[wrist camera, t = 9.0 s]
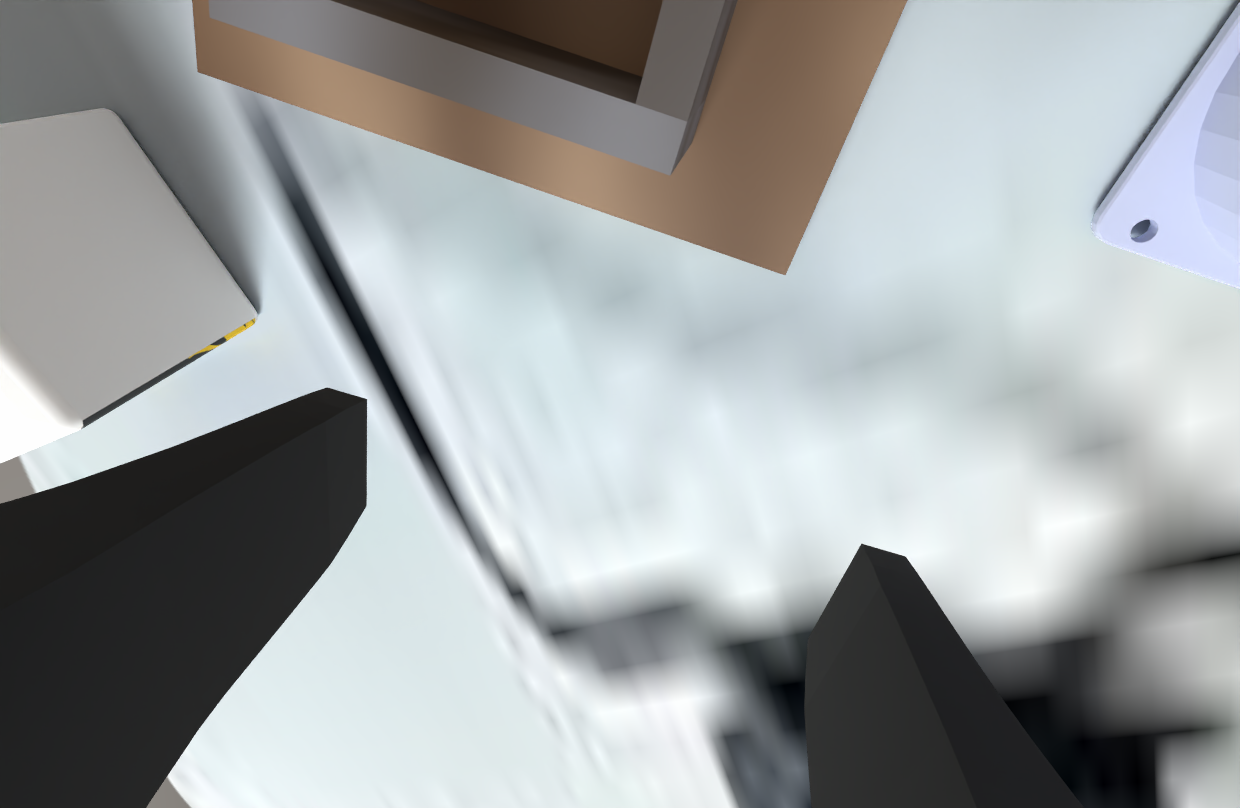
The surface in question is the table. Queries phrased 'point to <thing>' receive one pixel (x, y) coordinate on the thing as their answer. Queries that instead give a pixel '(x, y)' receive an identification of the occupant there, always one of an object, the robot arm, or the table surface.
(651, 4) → the bottle rest
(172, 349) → the medicine bottle
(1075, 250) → the table surface
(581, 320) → the table surface
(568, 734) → the table surface
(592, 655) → the table surface
